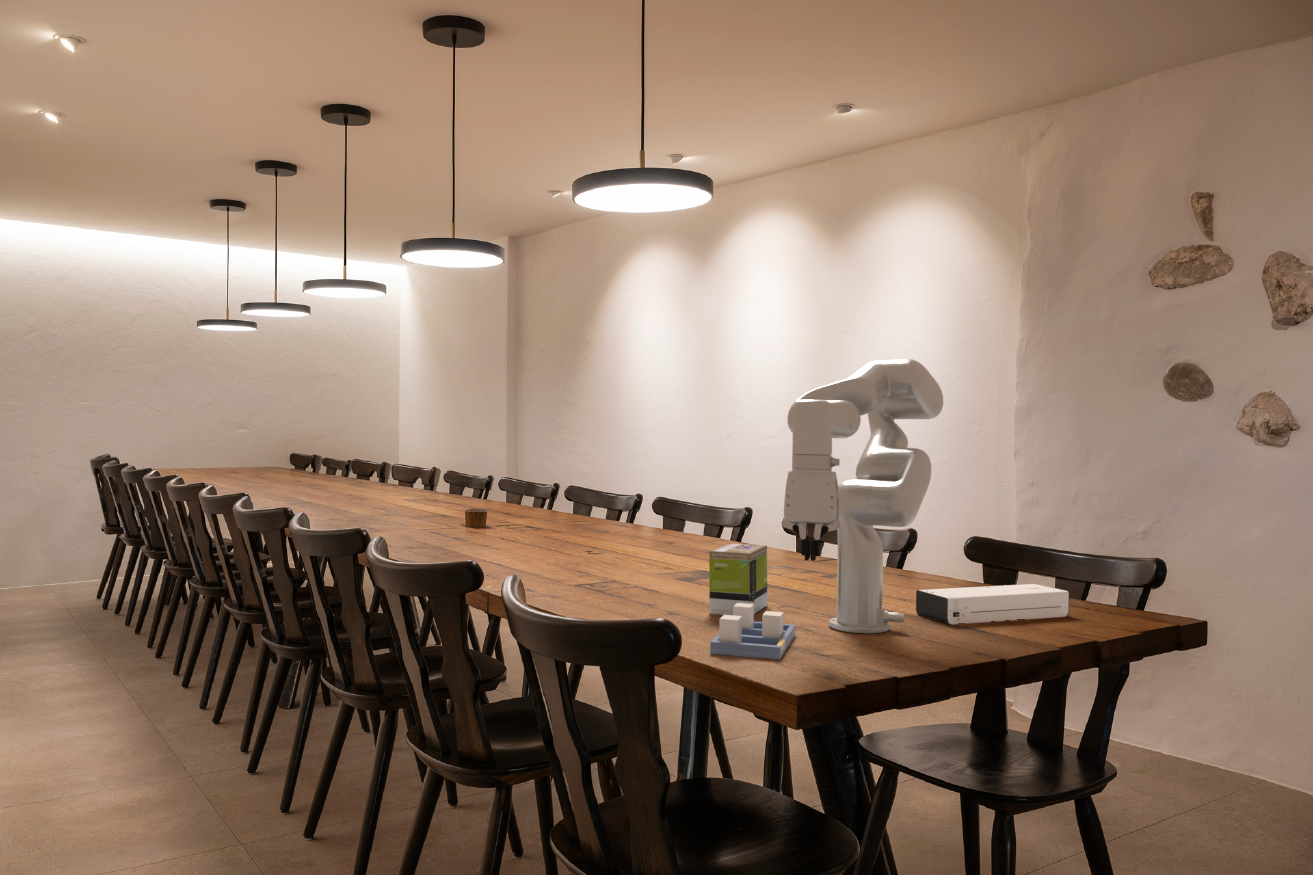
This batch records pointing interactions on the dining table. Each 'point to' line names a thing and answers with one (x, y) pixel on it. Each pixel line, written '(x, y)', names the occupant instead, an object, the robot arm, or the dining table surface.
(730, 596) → the tea box
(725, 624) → the tab
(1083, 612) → the dining table surface
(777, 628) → the tab
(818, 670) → the dining table surface
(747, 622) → the tab
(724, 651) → the blue compartment tray
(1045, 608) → the laminator
